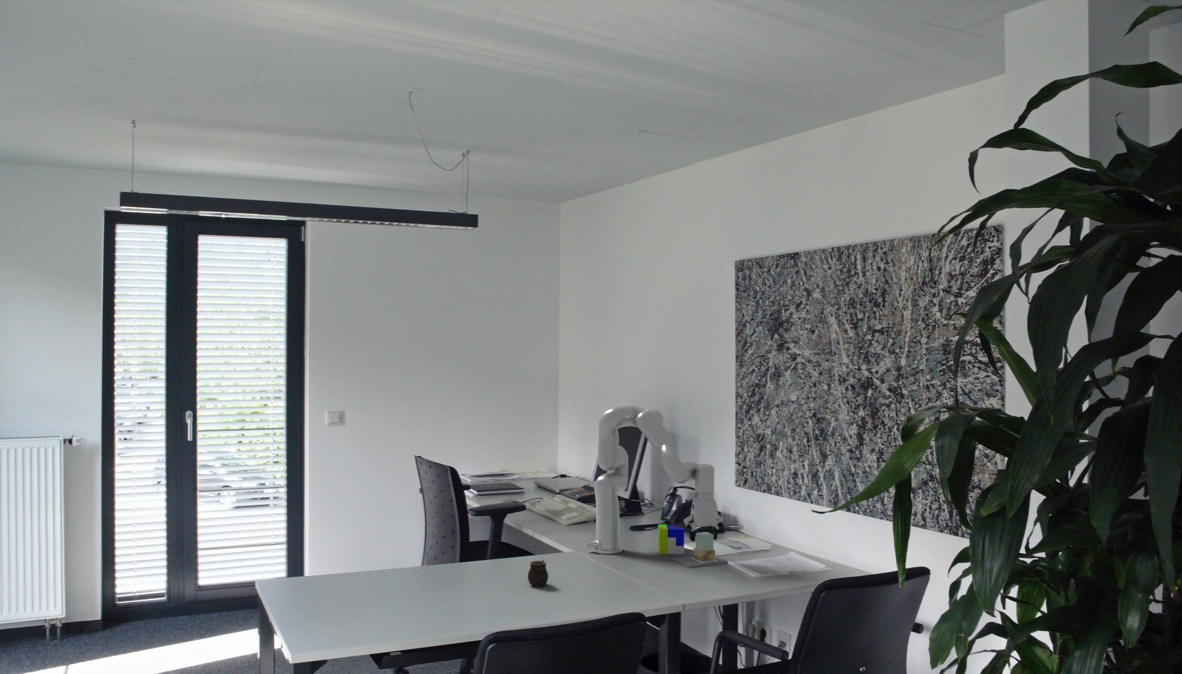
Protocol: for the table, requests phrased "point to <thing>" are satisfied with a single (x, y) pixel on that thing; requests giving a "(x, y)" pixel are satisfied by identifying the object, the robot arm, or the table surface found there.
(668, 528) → the puzzle toy
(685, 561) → the felt mat
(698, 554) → the oak base block
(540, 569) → the mate gourd
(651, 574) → the table surface
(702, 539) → the sage block
